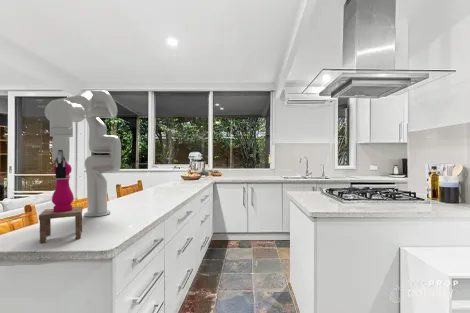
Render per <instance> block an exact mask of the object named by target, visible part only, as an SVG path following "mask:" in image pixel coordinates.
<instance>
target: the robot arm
mask: <svg viewBox="0 0 470 313" xmlns="http://www.w3.org/2000/svg"><path fill="white" fill-rule="evenodd" d="M117 115H118V106H117V104H116V102H115V100H114V99H113V97H112V95H111V93H110V92H108V91H106V90H103V89H102V90H98V89H97V90H96V89H86V90H82V91H81V92H79V93H78V94H76V95H73V96H67V97H64V98H63V97H62V98H57V99H53V100H51V101H50V102H48V103H47V105H46V106H45V108H44V116H45V117H46V119H47V120H48V121H49V137H52V147H51V148H52V152H51V155H52V156H51V157H52V158H51V162H52V163H55V165H56V174H55V176H56V178H57V179H58V178H66V167H65V163H68V162H70V161H69V160H70V147H71V146H70V138H72V137H74V134H73V133H74V130H73V128H74V127H73V123H80V122H83V121H84V120H86V122H87V124H88V127H89V132H88V135H89V136H88V149H89V151H90V152H91V153H94V155H90V156H88V157H86V158H85V160H84V168H85V173H86V195H87V196H86V199H87V201H86V202H87V206H86V208H87V210H86V211H87V212H84V213H83V216H85V217H88V218H89V217H92V218H93V217H95V218H96V217H103V216H107V215H110V214H111V210H108V181H107V179H106V177H105V176H104V174H109V173H110V174H113V173H114V174H115V173H119V171H120V170H121V166H122V143H121V139H120V137H119V136H118V135H112V134H111V135H109V134H108V133H107V130H108V128H107V125H106V123H105V122H104V121H103V120H102V119H113V118H114V119H115V118H116V117H117ZM107 134H108V135H107ZM95 153H96V154H95ZM99 154H100V155H99ZM102 154H103V155H102ZM68 164H69V163H68Z"/></svg>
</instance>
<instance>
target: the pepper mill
mask: <svg viewBox="0 0 470 313" xmlns="http://www.w3.org/2000/svg"><path fill="white" fill-rule="evenodd" d="M65 167H66V178H58V179H57V178H56V164H55V165H54V166H53V168H52V171H53V173H54V177H55V178H54V179H55V181H56V184H55V189H54V191H53V193H52V197H51V203H53V205H54V206H53V207H52V209H53V211H54V212H64V211H70V210H72V207H73V204H72V203H73V202H74V200H75V198H74V194H73V191H72V190H71V186H70V182H69V181H70V179H71V175H70V173H71V172H72V166H71V165H70V164H69V163H65Z"/></svg>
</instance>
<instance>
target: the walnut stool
mask: <svg viewBox="0 0 470 313" xmlns="http://www.w3.org/2000/svg"><path fill="white" fill-rule="evenodd" d="M61 218H63V219H64V218H74V219H75V228H74V229H75V240H80V239H81V238H82V237H81V235H82V234H81V233H82V232H83V206H72V210H70V211H64V212H54V211H53V208H50V209H49V208H47V209H44V210H43V211H42V212H41V213H40V214H39V215H38V220H39V244H46V243H47V236H51V234H52V233H51V230H52V229H51V228H52V226H51V223H52V222H51V220H52V219H61Z"/></svg>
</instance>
